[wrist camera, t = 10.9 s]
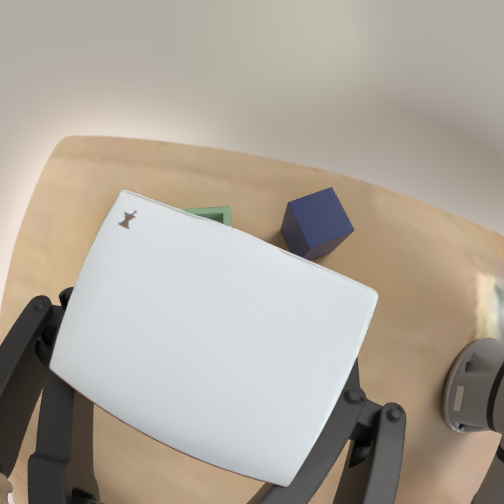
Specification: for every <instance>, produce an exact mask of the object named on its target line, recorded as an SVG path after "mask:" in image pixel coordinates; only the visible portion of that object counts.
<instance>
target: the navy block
mask: <svg viewBox="0 0 504 504" xmlns="http://www.w3.org/2000/svg"><path fill="white" fill-rule="evenodd" d="M353 231H354V228H353V226H352V224H351V222H350V220H349V218H348V217H347V215H346V213H345V211H344V209H343V207H342V205H341V203H340V201H339V199H338V198H337V196H336V194H335V192H334V190H333V188H332V187H331V188H328V189H325V190H322V191H319V192H316V193H313V194H310V195H308V196H305V197H302V198H299V199H296V200H294V201H291V202H288V205H287V208H286V212H285V215H284V219H283V222H282V226H281V232H282V234H283V236H284V238H285V240H286V242H287V245H288V247H289V249H290V251H291V253H292V254H295V255H297V256H299V257H302V258H304V259H306V260H309V261H310V260H313V259H315V258H317V257H320V256H322V255H324V254H327V253H329V252H331V251H333V250H334V249H335V248H336V247H337V246H338V245H340V244H341V243H342V242H343V241H344V240H345V239H346V238H347V237H348V236H349V235H350V234H351V233H352V232H353Z"/></svg>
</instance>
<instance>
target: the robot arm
mask: <svg viewBox="0 0 504 504" xmlns="http://www.w3.org/2000/svg"><path fill="white" fill-rule="evenodd" d="M73 289H74V287H69V288H67V289H65V290H63V291H62V292H61V293H60V295H59V299H60V302H61V305H62V306H57V305H52V303H51V300H50V299H49V298H48V297H47V296H43V295H40V296H36V297H35V298H33V299H32V300H31V301H30V302H29V303H28V305H27V306H26V307H25V309H24V310H23V312H22V313H21V315H20V316H19V318H18V319H17V320H16V322H15V323H14V325H13V327H12V328H11V330H10V331H9V333H8V334H7V336H6V337H5V339H4V341H3V342H2V344H1V346H0V504H9V503H8V500H7V499H8V497H7V496H8V493H11V492H12V491H13V487H12V484H11V483H10V482H9V481H8V477H9V476H10V474H11V472H12V470H13V468H14V466H15V463H16V460H17V458H18V454H19V451H20V448H21V444H22V441H23V438H24V435H25V432H26V429H27V427H28V424H29V421H30V418H31V416H32V413H33V411H34V408H35V405H36V403H37V401H38V398H39V396H40V393H41V391H42V389H43V393H42V399H41V405H40V413H39V421H38V431H37V443H36V451H35V453H34V454H32V455H30V457H29V460H28V501H29V504H104V503H101V502H100V497H99V489H98V484H97V481H96V479H95V477H94V470H93V408H94V403H93V402H91V401H90V400H88V399H87V398H86V397H84V396H83V395H81V394H80V393H79V392H77V391H76V390H75V389H73V388H72V387H71V386H70V385H68V384H67V383H66V382H64V381H63V380H62V379H61V378H59V377H58V376H57V375H56V374H55V373H53V372H52V371H51V369H50V367H49V366H50V362H51V358H52V355H53V351H54V347H55V343H56V339H57V336H58V332H59V329H60V326H61V323H62V320H63V317H64V314H65V311H66V308H67V305H68V302H69V300H70V297H71V294H72V291H73ZM357 360H358V358H356V360H355V362H354V365H353V367H352V369H351V372H350V374H349V376H348V379H347V381H346V383H345V385H344V387H343V390H342V392H341V394H340V396H339V398H338V400H337V402H336V404H335V406H334V408H333V410H332V412H331V414H330V416H329V418H328V420H327V422H326V424H325V426H324V428H323V429H322V431H321V433H320V435H319V437H318V439H317V440H316V442H315V444H314V446H313V447H312V449H311V451H310V452H309V454H308V456H307V457H306V459H305V461H304V462H303V464H302V466H301V467H300V469H299V471H298V472H297V474H296V476H295V477H294V479H293V480H292V482H291V483H290V485H289V486H287V487H283V486H279V485H275V484H271V483H267V482H266V483H265V484H264V485H263V486H262V487H261V489H260V490H259V491H258V492H257V493H256V494H255V495H254V496H253V497H252V499H251V500H250V501H249V502H248V503H247V504H308V502H309V501H310V500H311V498H312V497H313V495H314V494H315V493H316V491H317V490H318V488H319V487H320V485H321V484H322V482H323V481H324V479H325V478H326V476H327V474H328V473H329V471H330V470H331V468H332V466H333V465H334V463H335V462H336V460H337V458H338V456H339V455H340V453H341V451H342V450H343V448H344V446H345V444H346V442H347V441H348V439H350V440H351V442H350V446H349V450H348V454H347V458H346V461H345V465H344V469H343V472H342V476H341V479H340V482H339V485H338V489H337V492H336V495H335V498H334V501H333V504H394V502H395V497H396V493H397V488H398V482H399V477H400V470H401V464H402V457H403V449H404V439H405V428H406V413H405V411H404V409H403V408H402V407H401V406H400V405H398V404H396V403H391V402H390V403H387V404H385V405H384V406H381V405H378V404H376V403H374V402H372V401H370V400H368V399H367V398H366V395H365V393H364V391H363V390H362V389H361V388H360V383H359V370H358V362H357ZM43 386H44V387H43ZM441 405H442V415H443V419H444V421H445V423H446V424H447V426H448V427H450V428H451V429H453V430H455V431H458V432H461V433H470V432H481V431H489V430H491V431H495V432H498V433H500V434H502V438H501V440H500V443H499V446H498V449H497V451H496V454H495V456H494V458H493V461H492V463H491V465H490V467H489V470H488V472H487V474H486V476H485V478H484V480H483V482H482V484H481V486H480V488H479V490H478V492H477V493H476V494H475V496H474V497H473V499H472V501H471V504H504V344H503V343H501V342H499V341H497V340H495V339H492V338H482V339H477V340H475V341H473V342H471V343H470V344H468V345H467V346H466V347H465V348H464V349H463V350H462V351H461V353H460V354H459V355H458V357H457V358H456V360H455V361H454V363H453V365H452V367H451V369H450V371H449V373H448V376H447V379H446V382H445V385H444V389H443V394H442V404H441Z"/></svg>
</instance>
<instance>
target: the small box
mask: <svg viewBox="0 0 504 504" xmlns="http://www.w3.org/2000/svg"><path fill="white" fill-rule="evenodd" d="M377 301H378V294H377V292H376V291H375V290H374V289H372V288H371V287H368V286H366V285H364V284H361V283H359V282H357V281H355V280H353V279H351V278H348V277H346V276H344V275H341V274H339V273H337V272H335V271H332V270H330V269H328V268H325V267H323V266H321V265H318V264H316V263H313V262H311V261H309V260H306V259H304V258H302V257H299V256H297V255H295V254H292V253H290V252H287V251H285V250H283V249H280V248H278V247H276V246H274V245H271V244H269V243H267V242H265V241H263V240H260V239H258V238H256V237H254V236H252V235H250V234H248V233H245V232H243V231H240V230H238V229H235V228H232V227H230V226H227V225H224V224H221V223H219V222H217V221H214V220H211V219H208V218H204V217H200V216H197V215H194V214H191V213H188V212H186V211H183V210H180V209H178V208H175V207H172V206H169V205H167V204H164V203H162V202H159V201H156V200H153V199H150V198H147V197H145V196H142V195H140V194H137V193H134V192H132V191H129V190H125V189H123V190H121V191H120V193H119V194H118V196H117V198H116V200H115V202H114V204H113V206H112V208H111V210H110V211H109V213H108V215H107V217H106V219H105V220H104V222H103V224H102V226H101V228H100V230H99V232H98V234H97V236H96V238H95V240H94V242H93V244H92V246H91V249H90V251H89V253H88V255H87V257H86V260H85V262H84V264H83V267H82V269H81V271H80V274H79V276H78V279H77V281H76V284H75V286H74V289H73V291H72V294H71V297H70V300H69V302H68V305H67V308H66V311H65V314H64V317H63V320H62V323H61V326H60V329H59V332H58V336H57V339H56V343H55V347H54V351H53V355H52V358H51V362H50V366H49V367H50V369H51V371H52V372H53V373H55V374H56V375H57V376H58V377H59V378H61V379H62V380H63V381H64V382H66V383H67V384H68V385H70V386H71V387H72V388H73V389H75V390H76V391H77V392H79V393H80V394H81V395H83V396H84V397H86V398H87V399H88V400H90V401H91V402H93V403H94V404H95V405H97V406H98V407H100V408H101V409H103V410H104V411H106V412H107V413H109V414H110V415H112V416H114V417H115V418H117V419H118V420H120V421H122V422H123V423H125V424H127V425H129V426H130V427H132V428H134V429H136V430H137V431H139V432H141V433H143V434H145V435H146V436H148V437H150V438H152V439H154V440H156V441H158V442H160V443H162V444H164V445H166V446H168V447H170V448H172V449H174V450H176V451H179V452H181V453H183V454H185V455H188V456H190V457H192V458H195V459H197V460H200V461H203V462H205V463H208V464H210V465H213V466H215V467H218V468H221V469H224V470H227V471H230V472H233V473H236V474H239V475H242V476H245V477H249V478H252V479H255V480H259V481H263V482H267V483H271V484H275V485H279V486H283V487H287V486H289V485H290V483H291V482H292V480H293V479H294V477H295V476H296V474H297V472H298V471H299V469H300V467H301V466H302V464H303V462H304V461H305V459H306V457H307V456H308V454H309V452H310V451H311V449H312V447H313V446H314V444H315V442H316V440H317V439H318V437H319V435H320V433H321V431H322V429H323V428H324V426H325V424H326V422H327V420H328V418H329V416H330V414H331V412H332V410H333V408H334V406H335V404H336V402H337V400H338V398H339V396H340V394H341V392H342V390H343V387H344V385H345V383H346V381H347V379H348V376H349V374H350V372H351V369H352V367H353V365H354V362H355V360H356V358H357V355H358V353H359V350H360V348H361V345H362V343H363V340H364V337H365V335H366V332H367V329H368V327H369V324H370V321H371V318H372V315H373V313H374V310H375V307H376V304H377Z"/></svg>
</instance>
